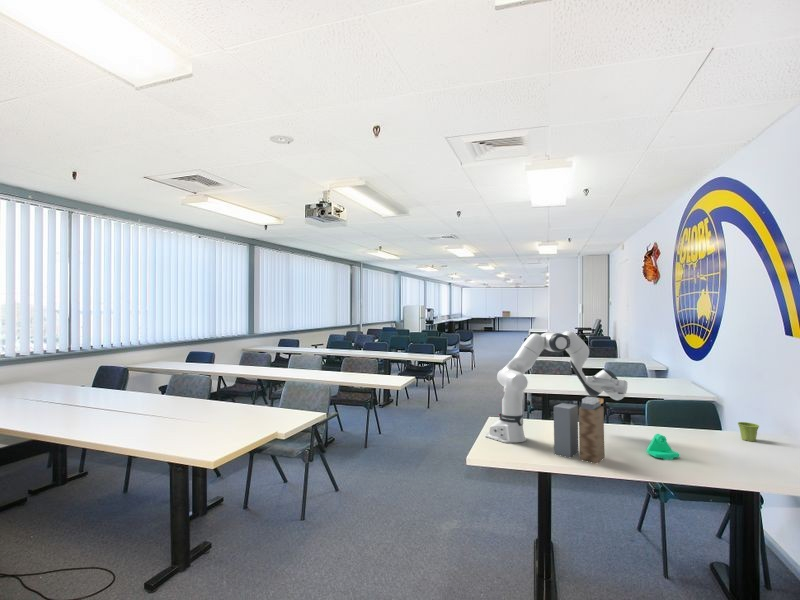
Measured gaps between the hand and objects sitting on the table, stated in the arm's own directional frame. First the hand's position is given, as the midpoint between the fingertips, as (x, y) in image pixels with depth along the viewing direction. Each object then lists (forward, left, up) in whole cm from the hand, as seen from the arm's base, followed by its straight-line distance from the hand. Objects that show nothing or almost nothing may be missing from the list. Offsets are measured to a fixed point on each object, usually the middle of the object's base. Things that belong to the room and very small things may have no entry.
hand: (602, 378), depth 227 cm
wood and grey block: (+2, -21, -11) cm, 24 cm away
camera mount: (+27, +1, -36) cm, 45 cm away
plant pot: (+57, +62, -36) cm, 92 cm away
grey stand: (-10, -26, -36) cm, 45 cm away
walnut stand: (+2, -26, -36) cm, 44 cm away
